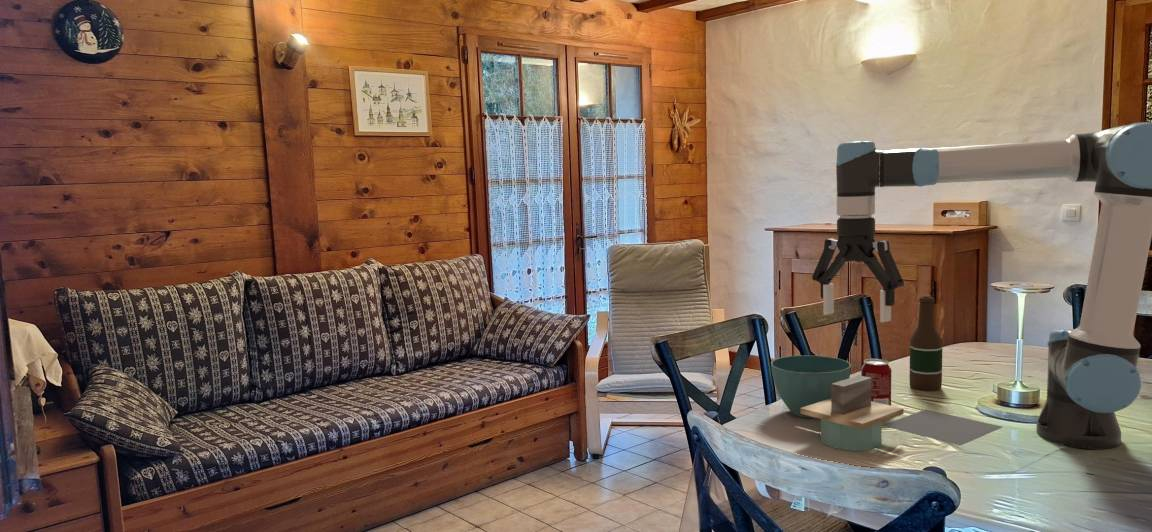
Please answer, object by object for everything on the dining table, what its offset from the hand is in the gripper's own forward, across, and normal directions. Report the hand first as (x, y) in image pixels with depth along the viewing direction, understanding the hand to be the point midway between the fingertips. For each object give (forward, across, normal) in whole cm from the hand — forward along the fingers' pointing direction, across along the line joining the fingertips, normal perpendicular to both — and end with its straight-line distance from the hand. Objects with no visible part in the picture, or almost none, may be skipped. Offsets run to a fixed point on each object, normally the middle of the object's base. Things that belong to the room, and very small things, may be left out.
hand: (856, 317), depth 169 cm
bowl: (+27, +1, +1) cm, 27 cm away
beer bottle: (+27, +12, -49) cm, 57 cm away
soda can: (+27, +9, -22) cm, 36 cm away
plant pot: (+27, +18, -9) cm, 34 cm away
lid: (+21, 0, +1) cm, 21 cm away
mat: (+27, -8, -21) cm, 35 cm away
